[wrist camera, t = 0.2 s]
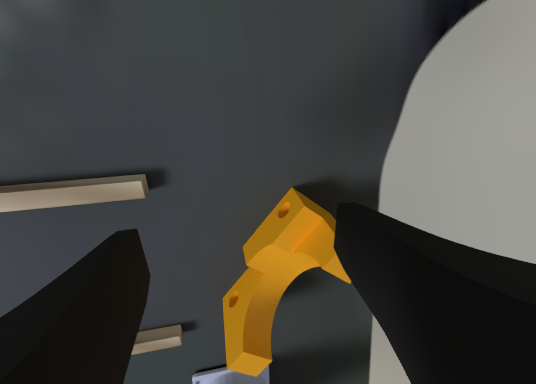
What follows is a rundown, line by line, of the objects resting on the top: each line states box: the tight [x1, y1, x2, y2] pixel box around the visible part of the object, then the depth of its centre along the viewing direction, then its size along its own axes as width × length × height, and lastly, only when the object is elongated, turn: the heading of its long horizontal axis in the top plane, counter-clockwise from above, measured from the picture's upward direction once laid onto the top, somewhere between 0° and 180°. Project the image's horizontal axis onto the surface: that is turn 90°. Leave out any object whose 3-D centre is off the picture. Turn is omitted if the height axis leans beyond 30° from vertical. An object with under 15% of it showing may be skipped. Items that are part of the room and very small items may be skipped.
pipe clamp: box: [223, 188, 351, 377], centre depth 20 cm, size 12×4×6 cm, turn 141°
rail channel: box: [0, 174, 183, 355], centre depth 20 cm, size 16×12×1 cm
